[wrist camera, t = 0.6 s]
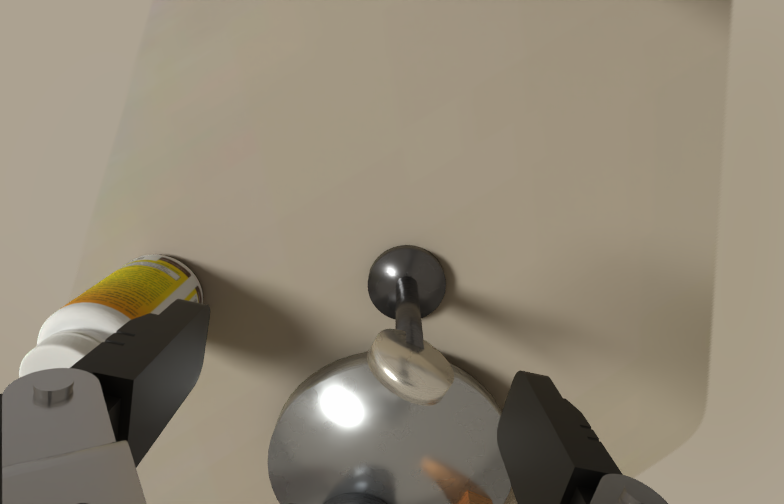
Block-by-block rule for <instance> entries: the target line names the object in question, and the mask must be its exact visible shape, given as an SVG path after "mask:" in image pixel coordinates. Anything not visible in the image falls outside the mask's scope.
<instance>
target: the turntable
mask: <svg viewBox="0 0 784 504" xmlns="http://www.w3.org/2000/svg"><path fill="white" fill-rule="evenodd" d="M367 354H368V352H365V353H360V354H355V355H351V356H348V357H345V358H343V359H340V360H337V361H335V362H333V363H331V364H329V365H327V366H325V367H323V368H321V369H320V370H318V371H317V372H315V373H313V374H312V375H310V376H309V377H308V378H307V379H306V380H305V381H304V382H302V383H301V384H300V385H299V386H298V387H297V389H296V390H295V391H294V392H293V393H292V394H291V396H290V397H289V399H288V400H287V402H286V403H285V405H284V407H283V409H282V411H281V413H280V416H279V418H278V421H277V424H276V426H275V429H274V432H273V435H272V438H271V442H270V446H269V451H268V471H269V478H270V481H271V485H272V488H273V491H274V493H275V495H276V498H277V500H278V501H279V503H280V504H324V503H325V502H326V501H327V500H329V499H330V498H332V497H334V496H336V495H339V494H343V493H349V492H361V493H367V494H371V495H374V496H376V497H379V498H380V499H382V500H384V501H385V502H386V503H388V504H504V502H505V500H506V498H507V496H508V494H509V492H510V488H511V483H510V480H509V477H508V474H507V471H506V468H505V465H504V462H503V459H502V456H501V453H500V450H499V448H498V443H497V428H498V423H499V419H500V416H501V414H502V412H501V410H500V408H499V407H498V405H497V403H496V401H495V400H494V398H493V397H492V396H491V395H490V393H489V392H488V391H487V390H486V388H485V387H483V386H482V385H481V384H480V383H479V382H478V381H477V380H476V379H475V378H474V377H472V376H471V375H469V374H468V373H466V372H465V371H464V370H462V369H460V368H458V367H457V366H455V365H453V364H451V363H449V364H450V365H451V367H452V370H453V372H454V381H453V383H452V385H451V386H450V388H449V389H448V391H447V392H446V394H445V395H444V397H443V398H442V400H441V401H440V402H439V403H437V404H435V405H431V406H424V405H418V404H414V403H411V402H408V401H406V400H404V399H402V398H400V397H398V396H396V395H395V394H393V393H392V392H390V391H389V390H388V389H387V388H385V387H384V386H383V385H382V384H381V383H380V382H379V381H378V380H377V379H376V377H375V376H374V375H373V373H372V372H371V370H370V368H369V366H368V363H367Z"/></svg>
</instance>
